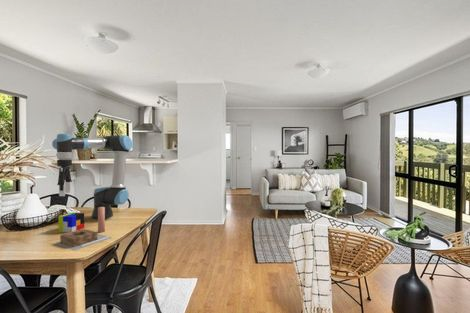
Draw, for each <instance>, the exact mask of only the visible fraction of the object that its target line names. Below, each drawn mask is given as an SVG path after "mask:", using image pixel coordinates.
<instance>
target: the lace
mask: <svg viewBox="0 0 470 313" xmlns="http://www.w3.org/2000/svg"><path fill="white" fill-rule="evenodd" d="M109 237H110V236H108V237H105V238H102V239H99V240H96V241H93V242H90V243H87V244H84V245H81V246H85V245H88V244H91V243H94V242H97V241H100V240H103V239H106V238H109Z"/></svg>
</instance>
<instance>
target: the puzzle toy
mask: <svg viewBox="0 0 470 313" xmlns="http://www.w3.org/2000/svg"><path fill="white" fill-rule="evenodd" d="M82 229H85V213H84V212H69V213H66V214H65V213H64V214H62V215H58V232H59V233H71V232H74V231H78V230H82Z"/></svg>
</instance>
